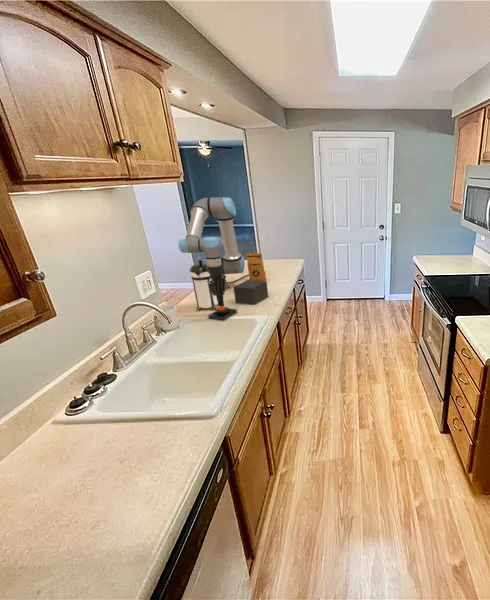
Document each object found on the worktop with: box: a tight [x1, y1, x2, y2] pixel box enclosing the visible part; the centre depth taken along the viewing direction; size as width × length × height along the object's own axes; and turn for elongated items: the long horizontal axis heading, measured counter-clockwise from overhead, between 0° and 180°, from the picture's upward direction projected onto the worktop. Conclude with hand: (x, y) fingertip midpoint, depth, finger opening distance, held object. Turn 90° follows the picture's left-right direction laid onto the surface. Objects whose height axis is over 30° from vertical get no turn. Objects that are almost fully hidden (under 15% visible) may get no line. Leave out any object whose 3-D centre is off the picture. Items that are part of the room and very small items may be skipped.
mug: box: [155, 305, 180, 332], centre depth 175 cm, size 12×9×11 cm
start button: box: [217, 305, 227, 311], centre depth 190 cm, size 4×4×2 cm
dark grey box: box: [233, 279, 269, 306], centre depth 214 cm, size 16×14×11 cm
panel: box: [207, 306, 238, 321], centre depth 190 cm, size 12×10×4 cm
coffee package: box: [246, 252, 267, 281], centre depth 252 cm, size 10×12×22 cm
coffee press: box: [189, 259, 218, 312], centre depth 199 cm, size 17×16×30 cm
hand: (221, 305), depth 189 cm, fingers closed
